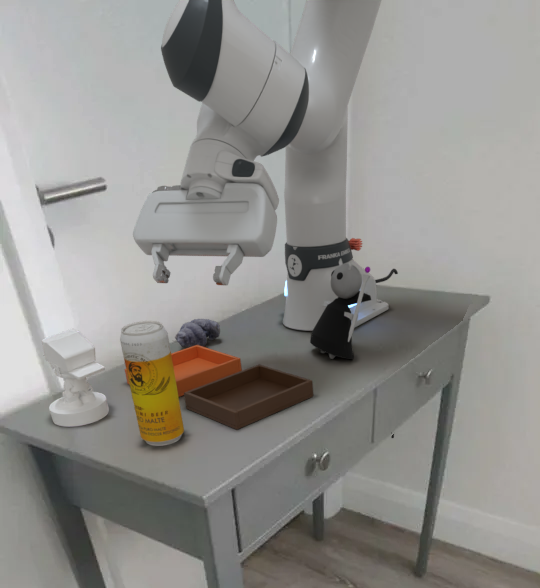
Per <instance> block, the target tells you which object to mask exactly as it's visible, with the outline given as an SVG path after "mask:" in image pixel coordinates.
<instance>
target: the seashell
mask: <svg viewBox="0 0 540 588" xmlns="http://www.w3.org/2000/svg"><path fill="white" fill-rule="evenodd" d="M220 334H221V326H220V324H219V323H218V322H217V321H215V320H212V319H209V318H194V319H192V320H191V321H187V322H184V323H182V325H181V327H180V328H179V331H178V332H177V333H176V334H175V336H174V339H175V340H176V342H177V343H178V344H179V345H180V347H182V348H189V347H192V346H195V345H199V346H203V347H206V345H207V340H210V341H214V340H216V339H218V338H219V337H220ZM207 338H208V339H207Z"/></svg>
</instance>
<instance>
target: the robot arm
mask: <svg viewBox="0 0 540 588" xmlns="http://www.w3.org/2000/svg"><path fill="white" fill-rule="evenodd" d="M381 3H382V0H305V3H304V8H303V11H302V13H301V18H300V20H299V24H298V27H297V29H296V32H295V36H294V39H293V41H292V46H291V49H290V51H289V52H288V51H287V50H286V49H285V48H284V47H283V46H282V45H280V44H279V43H278V42H277V41H276V40H274V39H272V37H270V36H268V35H267V33H265V32H264V31H263V30H261V29H260V27H258V26H257V25H256V24H255V23H254V22H253V21H251V20H250V19H249V18H248V17H246V15H244V14H243V13H242V12H241V10H240V9H239V8H238V6H237V4H236V3H235V1H234V0H178V2H177V3H176V5H175V6H174V8H173V9H172V11H171V13H170V15H169V17H168V19H167V22H166V24H165V27H164V31H163V34H162V40H161V46H160V51H161V55H162V60H163V63H164V66H165V69H166V72H167V75H168V77H169V80H170V82H171V85H172V87H174V88H175V89H177V90H178V91H180V92H182V93H183V94H185V95H187V96H189V97H190V98H192V99H194V100H195V101H197V102H200V103H201V104H200V105H201V106H200V109H199V112H198V116H197V120H196V135H195V138H194V139H193V140H192V142H191V144H190V146H189V149H188V153H187V157H186V161H185V164H184V168H183V172H182V175H181V179H180V184H176V185H170V186H169V185H168V186H167V185H160V186H158V187H157V188H156V189H155V190H153V191H152V192H150V193H148V195H147V197H146V199H145V200H144V203H143V204H142V207H141V208H140V212H139V214H138V217H137V219H136V222H135V225H134V228H133V231H132V237H133V240H134V242H135V244H136V245H137V246H138V248H139V249H140V250H141V251H142V252H143V253H144V254H145V255H147V256H152V260H153V263H154V268H153V273H152V278H153V280H154V281H155V283H157V284H168V283H169V281H170V280H169V278H170V277H171V271H170V270H169V269H167V268H168V267H167V266H166V265H165V262H168V261H169V257H170V256H173V257H174V256H175V257H176V256H177V257H179V256H181V257H225V260H224V261H223V262H222V264H221V265H215V267H214V273H213V275H212V279H213V282H214V283H215V285H217V286H229V283H230V280H231V276H232V275H233V273H234V272H235V271H237V269H238V268H239V267H240V266H241V265H242V264H243V260H244V258H245V257H246V258H264V257H266V255H268V254H269V253H270V252H271V251H272V248H273V247H274V246H273V245H274V241H275V237H276V232H277V226H278V215H277V212H276V210H277V209H278V208H279V207H278V206H279V203H280V198H279V195H278V192H277V189H276V186H275V185H274V182H273V180H272V178H271V177H270V174H269V173H268V171H267V170H266V168H265V167H264V165H263V164H262V163H261V162H259V161H255V160H256V158H257V157H258V156H260V157H261V158H262V157H266V156H269V155H271V154H273V153H276V152H278V151H280V150H283V149H284V148H285V149H284V150H285V151H284V153H285V154H284V155H285V156H284V157H285V160H284V161H285V162H284V190H283V196H284V197H283V198H284V215H285V218H284V219H285V235H286V237H285V238H286V242H285V243H284V260H285V261H284V263H285V264H284V265H285V267H286V271H287V272H286V273H287V274H286V280H285V285H284V297H285V303H284V310H283V319H282V324H283V325H284V326H285V327H286V328H288V329H292V330H297V331H310V332H312V331H313V329H314V327H315V325H316V324H317V322H318V320H319V319H320V317H321V315H322V313H323V312H324V310H325V308H326V307H325V306H323V303H324V300H325V301H330V302H333V301H334V300H335V299H336V298H338V296H337V295H336V294H335V293H334V292H333V291H332V288H331V274H332V272H333V271H334V270H335V269H336V268H337V267H338V266H339V260H340V258H341V260H342V263H343V264H350V262H351V264H352V265H354V266H355V267H357V269H358V270H359V271H360V273H361V277H362V283H363V276H362V274H365V275H369V276H370V278H369V279H368V281H367V283H366V286H365V290H364V293H365V294H368V295H370V296H371V300H370V301H365V302H361V305H360V308H359V312H358V320H357V321H356V323H355V327H354V329H355V328H357V327H358V326H360V325H362V324H364V323H366V322H368V321H370V320H372V319H374V318H375V317H377V316H380V315H381V314H382V313H384V312H386V311H388V310H389V309H390V308H389V307H390V306H389V305H390V304H389V303H388V302H386V301H385V300H382V299H379V298H378V290H377V284H378V283H383V282H386V281H388V280H389V279H390V278H391V277H392V276H393V275H394V274H395V275H398V274H399V272H398V270H397V269H396V268H392V269H391V270H390V272H388V275H386V276H385V277H382V278H377V279H376V278H375V277H374V276H373V274H371V273H370V272H369V273H366V272H365V268H364V267H363V266H361V264H359V263H358V262H357V261H356V260H355V259H354V255H353V252H352V251H357V252H359V251H361V250H362V248H363V240H362V239H361V238H354V237H352V238H350V239H348V238H347V171H348V170H347V169H348V167H347V165H348V164H347V163H348V120H349V119H348V117H349V116H348V115H349V103H350V100H351V96H352V93H353V90H354V87H355V84H356V81H357V78H358V74H359V71H360V69H361V65H362V62H363V59H364V56H365V53H366V51H367V48H368V44H369V42H370V38H371V36H372V33H373V31H374V27H375V24H376V23H375V22H376V20H377V17H378V13H379V10H380V7H381ZM361 286H362V284H361ZM360 290H361V287H360ZM360 290H359V291H360ZM356 305H357V304H353V305H348V306H349V308H350V311H351V314H354V312H355V309H356ZM351 324H352V320H351ZM390 436H391V435H390ZM394 437H395V433H394V434H393V435H392V436H391V437H390V438H391V439H394Z"/></svg>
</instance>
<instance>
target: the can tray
mask: <svg viewBox="0 0 540 588" xmlns="http://www.w3.org/2000/svg"><path fill="white" fill-rule="evenodd" d="M171 356H172V362H173V368H174V374H175V380H176V385H177V391H178V397H179V398H180V397H183V396H184V393H185V392H187V391H190V390H192V389H195V388H198V387H200V386H203V385H205V384H208V383H211V382H213V381H216V380H219V379H221V378H224V377H227V376H229V375H232V374H235V373H237V372H240V371H243V369H242V360H241V357H238V356H235V355H232V354H228V353H225V352H221V351H218V350H215V349H212V348H208V347H206V346H204V347H203V346H199V345H195V346H192V347H189V348H187V347H185V348H184V349H180V350H177V351H174V352H171ZM124 375H125V378H126V383H127V385H129V386H130V384H129V380H128V375H127V370H126V368H124Z"/></svg>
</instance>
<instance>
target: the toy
mask: <svg viewBox="0 0 540 588" xmlns="http://www.w3.org/2000/svg"><path fill="white" fill-rule="evenodd" d="M364 269H365V272H366V273H370V272H371V266H366V267H365V268H364ZM362 276H363V283H362V277H361V273H360V271H359V270H358V269H357V267H355V266H354V265H352V264H351V262H350V264H343V263H342V260H341V258H340V260H339V266H338V267H337V268H336V269H335V270H334V271H333V272H332V274H331V288H332V291H333V292H334V293H335V294H336V295H337V296H338V298H336V299H335V300H334V301H333V302H330V301H325V300H324V303H323V306H325V307H326V308H325V310H324V312H323V313H322V315H321V317H320V319H319V320H318V322H317V324H316V325H315V327H314V329H313V331H311V334H310V340H309V343H310V344H311V345H312V346H314V347H315V348H316V349H318V350H320V353H321V354H325V353H326V354H328V356H329V359H332V360H334V358H335V357H338V358H341V359H347V360H353V359H354V358H355V356H354V349H353V342H352V341H353V339H352V337H353V336H352V335H353V333H354V330H355V328H356V327H355V323H356V321H357V320H358V312H359V308H360V305H361V302H365V301H370V300H371V296H370V295H368V294H365V293H364V290H365V286H366V283H367V281H368V279H369V278H370V276H369V275H365V274H362ZM361 284H362V286H361ZM360 287H361V290H360ZM359 290H360V291H359ZM353 304H357V305H356V309H355V312H354V314H351V311H350V308H349V306H348V305H353ZM351 320H352V324H351ZM354 327H355V328H354Z"/></svg>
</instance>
